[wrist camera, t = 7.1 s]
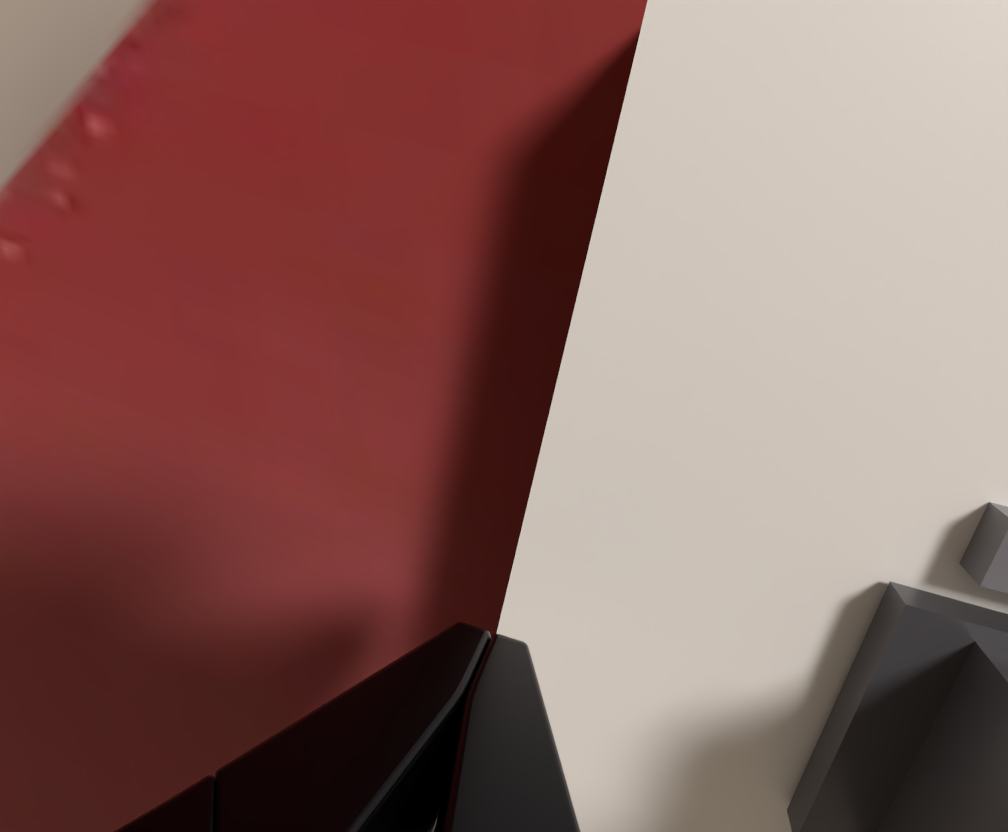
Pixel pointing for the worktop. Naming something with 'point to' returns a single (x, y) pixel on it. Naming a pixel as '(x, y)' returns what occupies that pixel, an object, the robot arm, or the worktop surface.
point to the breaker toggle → (915, 725)
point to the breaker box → (769, 395)
